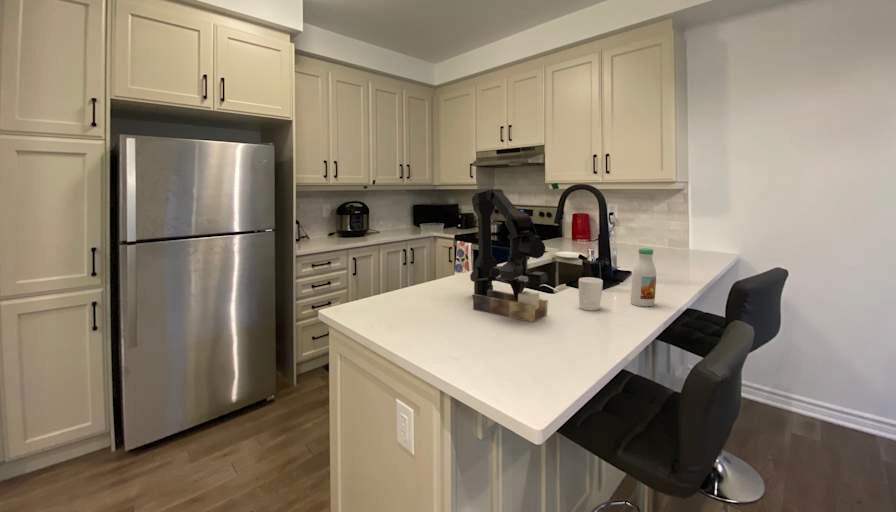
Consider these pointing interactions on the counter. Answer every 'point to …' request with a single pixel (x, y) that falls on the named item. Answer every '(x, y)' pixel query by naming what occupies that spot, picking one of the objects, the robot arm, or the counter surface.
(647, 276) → the milk bottle
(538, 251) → the robot arm
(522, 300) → the cream block
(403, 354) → the counter surface
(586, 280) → the white cup
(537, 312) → the channel
